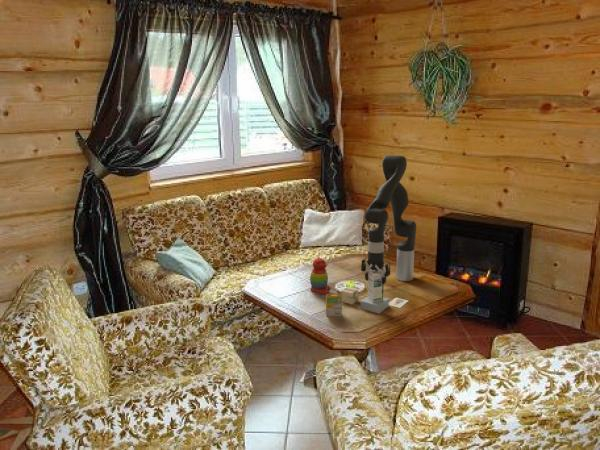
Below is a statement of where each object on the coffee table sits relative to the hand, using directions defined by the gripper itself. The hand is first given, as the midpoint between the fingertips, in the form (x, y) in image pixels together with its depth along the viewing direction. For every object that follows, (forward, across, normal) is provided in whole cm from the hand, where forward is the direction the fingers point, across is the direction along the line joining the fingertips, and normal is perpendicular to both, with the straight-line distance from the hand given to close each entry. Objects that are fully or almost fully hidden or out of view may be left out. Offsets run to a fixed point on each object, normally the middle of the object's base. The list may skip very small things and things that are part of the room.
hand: (375, 281), depth 241 cm
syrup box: (+9, 0, 0) cm, 9 cm away
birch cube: (+13, +14, 0) cm, 19 cm away
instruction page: (+13, -7, -11) cm, 18 cm away
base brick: (+13, 0, 0) cm, 13 cm away
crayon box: (+13, +12, +18) cm, 26 cm away
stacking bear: (+14, +34, -3) cm, 37 cm away
